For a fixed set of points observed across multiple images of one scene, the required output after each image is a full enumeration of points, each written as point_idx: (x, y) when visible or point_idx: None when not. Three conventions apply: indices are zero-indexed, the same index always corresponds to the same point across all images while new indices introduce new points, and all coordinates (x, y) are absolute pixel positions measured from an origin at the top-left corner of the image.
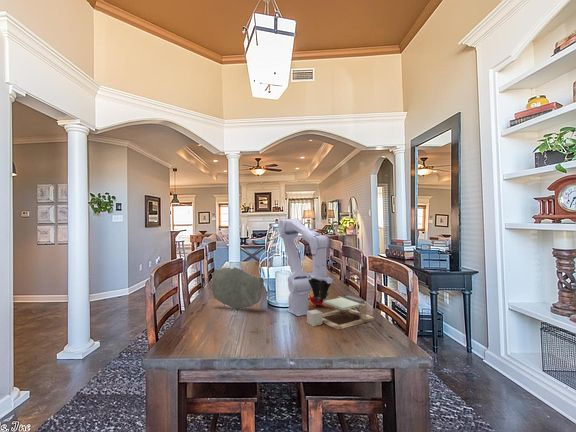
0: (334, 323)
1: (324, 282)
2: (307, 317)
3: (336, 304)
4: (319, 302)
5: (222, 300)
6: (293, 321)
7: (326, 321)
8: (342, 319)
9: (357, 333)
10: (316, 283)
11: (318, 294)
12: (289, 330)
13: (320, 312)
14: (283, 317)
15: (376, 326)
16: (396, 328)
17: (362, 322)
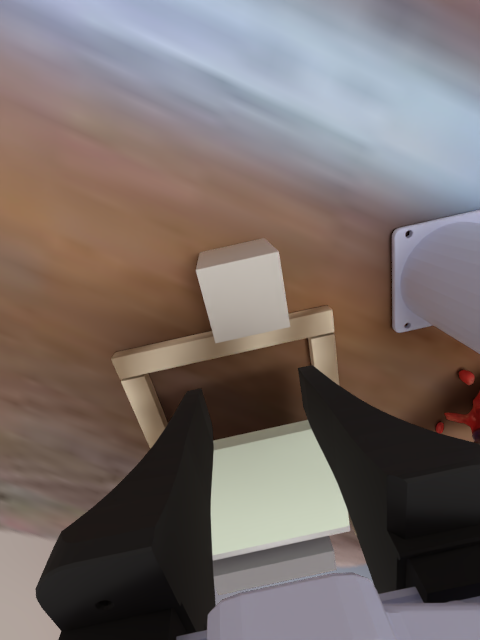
0: (168, 365)
1: (72, 637)
2: (263, 245)
3: (227, 460)
4: (477, 415)
5: None
6: (328, 165)
7: (211, 340)
8: (243, 423)
9: (51, 410)
10: (363, 510)
11: (308, 415)
12: (181, 62)
13: (214, 331)
14: (432, 124)
15: None
16: None
17: None
